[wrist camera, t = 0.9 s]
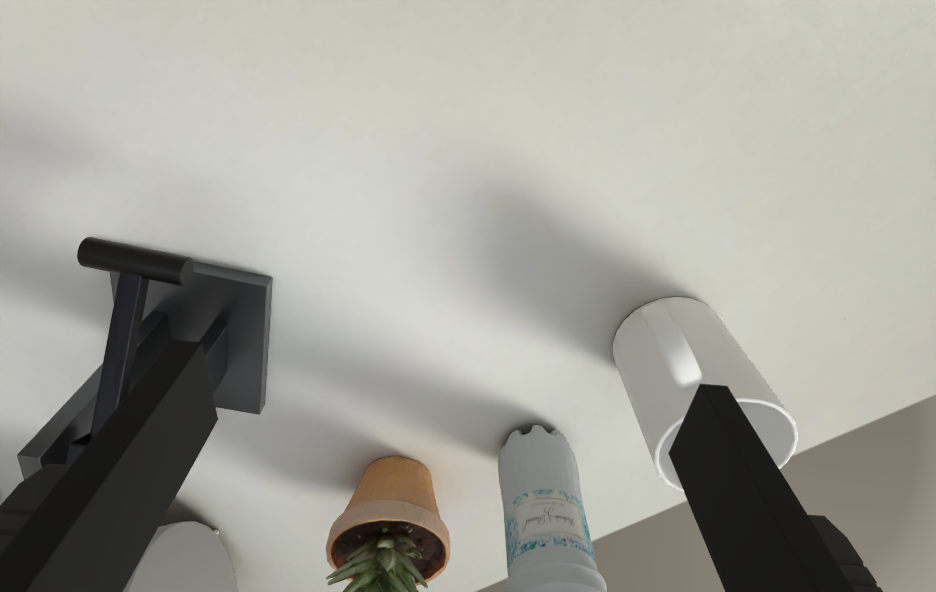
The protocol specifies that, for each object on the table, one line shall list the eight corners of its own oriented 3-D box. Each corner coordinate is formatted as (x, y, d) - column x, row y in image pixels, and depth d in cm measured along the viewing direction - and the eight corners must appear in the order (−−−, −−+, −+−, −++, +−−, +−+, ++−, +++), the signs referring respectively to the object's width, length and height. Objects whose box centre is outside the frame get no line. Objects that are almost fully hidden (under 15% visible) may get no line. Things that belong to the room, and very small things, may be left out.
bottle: (578, 416, 42) (652, 712, 25) (569, 471, 46) (629, 764, 29) (495, 415, 42) (514, 711, 25) (493, 471, 46) (507, 764, 29)
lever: (102, 237, 28) (74, 235, 26) (199, 257, 29) (180, 257, 26) (60, 472, 29) (28, 492, 26) (155, 487, 29) (132, 507, 27)
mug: (733, 355, 39) (812, 467, 30) (634, 395, 41) (680, 512, 32) (680, 226, 34) (757, 317, 25) (569, 280, 36) (602, 382, 27)
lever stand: (117, 245, 34) (-64, 386, 23) (272, 277, 36) (177, 426, 24) (133, 381, 40) (-4, 547, 29) (264, 404, 42) (185, 572, 30)
